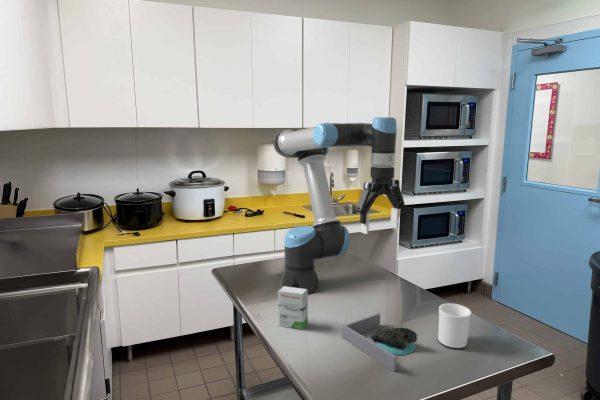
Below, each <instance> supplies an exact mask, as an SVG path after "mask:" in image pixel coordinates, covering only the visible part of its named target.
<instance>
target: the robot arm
mask: <svg viewBox="0 0 600 400" xmlns="http://www.w3.org/2000/svg"><path fill="white" fill-rule="evenodd" d="M397 132H398V129H397V119H396V118H395V117H392V116H391V117H388V116H387V117H383V116H382V117H379V116H377V117H374V118H372V122H371V123H366V122H356V123H354V122H351V123H349V122H348V123H347V122H346V123H344V122H343V123H340V122H339V123H338V122H337V123H336V122H335V123H334V122H324V123H323V122H322V123H318V124H316V126H313V127H308V128H303V129H299V128H298V129H295V128H293V129H288V128H287V129H283V130H281V131H279V132H278V133H277V134H275V135H274V137H273V149H274V150H275V152H276V153H277V154H278V155H279V156H282V157H283V158H292V159H293V158H294V159H295V158H297V161H298V164H299V165H300V166H302V169H303V172H304V178H305V181H306V182H305V183H306V186H307V191H308V196H309V201H310V204H311V205H310V206H311V211H312V215H313V219H314V222H313V224H312V226H309V225H304V226H295V227H293V228H290V229H288V230H287V231H286V232H285V234H284V242H283V243H284V244H283V245H284V269H283V272H282V275H281V278H280V282H279V286H280V289H281V288H282V287H284V286H286V287H294V288H301V289H307V290H308V295H309V294H313V293H315V292H317V291H318V290H319V287H320V286H319V285H320V284H319V283H320V282H319V278H318V275H317V271H316V268H315V260H322V259H326V258H332V257H333V258H335V257H338V256H342V255H345V254H346V253H347V252H348V250H349V247H350V243H351V237H350V235H351V234H350V232H349V230H348V228H347V226H344V225H342V224H341V219H338V218H337V217H336V214H335V210H334V208H335V207H334V206H333V205H334V204H333V201H332V200H333V199H332V195H331V191H330V186H329V181H328V177H327V173H326V169H325V168H326V167H325V164H324V162H325V160H326V158H327V155H328V153H329V148H333V147H335V148H336V147H337V148H338V147H339V148H340V147H371V156H370V165H371V167H370V173H369V174H370V178H371V182H367V181H365V182H363V189H362V191H361V194H360V197H359V200H358V202H357V203H356V207H355V210H354V211H355V212H356V213H359V214H360V215H359V216H360V217H359V222H360V224H361V225H360V233H361V234H364V235H369V230H370V229H369V228H370V227H369V226H370V213H368V212H369V211H370V209H371V207H372V206H373V204H374V202H375V201H376V199H377V198H379V197H380V196H383V195H385V196H386V197H387V199H388V200H389V202H390V204H391V206H392V207H391V208H390V210H391V212H390V225H389V226H390V227H391V228H392V229H393V228H394V229H398V228H399V218H400V210H403V207H405V204H406V203H405V200H404V197H403V194H402V191H401V187H400V180H399V179H394V178H395V167H394V166H395V163H396V162H395V160H396V144H397Z"/></svg>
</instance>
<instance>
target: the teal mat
mask: <svg viewBox="0 0 600 400" xmlns="http://www.w3.org/2000/svg"><path fill="white" fill-rule="evenodd" d="M376 344H377V345H378V346H380V347H382V348H383V349H385V350H387V351H388V352H390V353H391V354H393V355H395V356H406V355H410V354H412V353H413V352H414V351H415V350H416V345H415V344H416V343H415V342H412V343H409V344H408V345H407V346H406V347H405V348H404V349H402V348H396V347H395V346H393V345H391V344H390V343H387V342H383V341H381V340H376Z"/></svg>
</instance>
